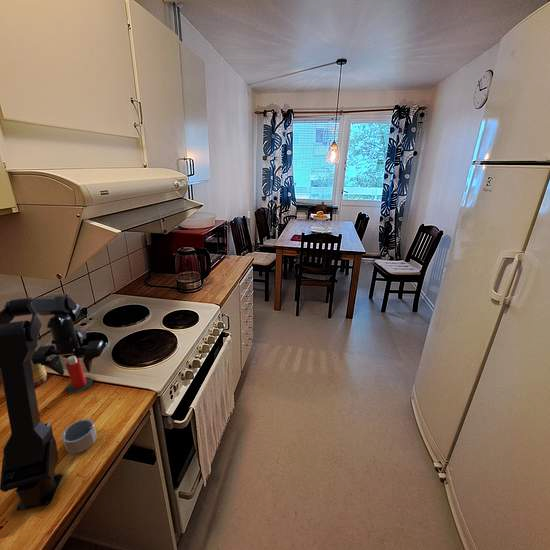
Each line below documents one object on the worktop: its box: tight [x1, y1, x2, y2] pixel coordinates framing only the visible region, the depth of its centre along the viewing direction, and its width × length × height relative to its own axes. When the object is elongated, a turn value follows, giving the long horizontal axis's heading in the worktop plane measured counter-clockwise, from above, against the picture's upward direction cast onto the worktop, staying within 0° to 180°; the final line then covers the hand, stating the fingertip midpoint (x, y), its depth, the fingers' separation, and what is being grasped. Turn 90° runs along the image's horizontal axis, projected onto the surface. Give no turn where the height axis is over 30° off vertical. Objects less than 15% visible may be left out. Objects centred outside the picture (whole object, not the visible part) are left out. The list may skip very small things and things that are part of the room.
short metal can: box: [61, 418, 98, 455], centre depth 76 cm, size 7×7×4 cm
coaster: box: [66, 376, 93, 394], centre depth 95 cm, size 7×7×1 cm
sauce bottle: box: [30, 346, 48, 387], centre depth 93 cm, size 6×6×20 cm
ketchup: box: [65, 355, 86, 389], centre depth 93 cm, size 4×4×11 cm
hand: (76, 372), depth 93 cm, fingers open, 7 cm apart
